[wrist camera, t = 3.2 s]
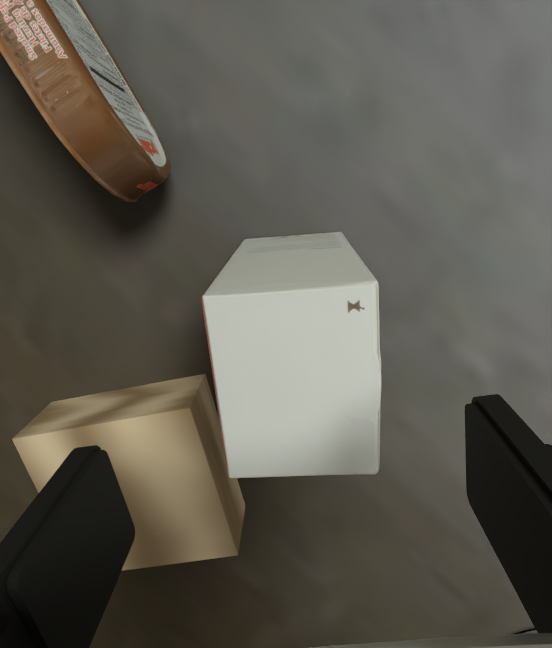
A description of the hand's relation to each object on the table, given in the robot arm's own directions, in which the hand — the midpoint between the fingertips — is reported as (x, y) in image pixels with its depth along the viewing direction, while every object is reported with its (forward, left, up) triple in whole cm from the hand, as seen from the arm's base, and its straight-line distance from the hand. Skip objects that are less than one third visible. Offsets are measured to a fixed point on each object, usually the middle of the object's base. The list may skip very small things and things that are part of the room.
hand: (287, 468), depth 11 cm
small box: (0, 0, -18) cm, 18 cm away
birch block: (+13, +11, -18) cm, 25 cm away
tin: (+9, -15, -18) cm, 25 cm away
